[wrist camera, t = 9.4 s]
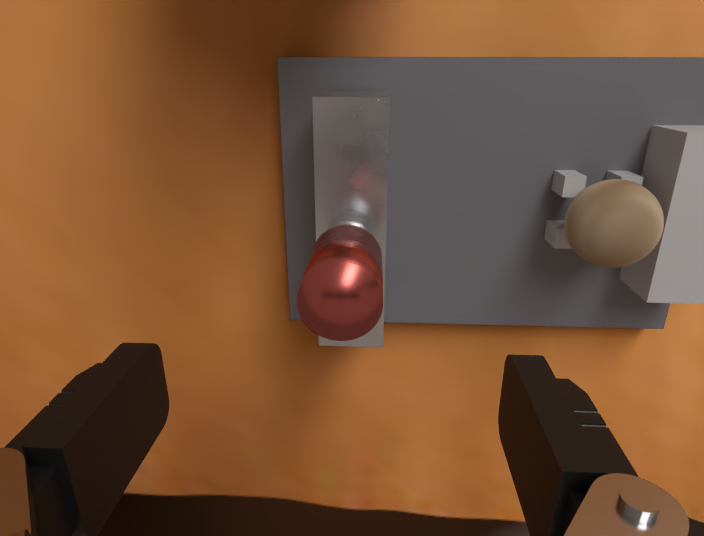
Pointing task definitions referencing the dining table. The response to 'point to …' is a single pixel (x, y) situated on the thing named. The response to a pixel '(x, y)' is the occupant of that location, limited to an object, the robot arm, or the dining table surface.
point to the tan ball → (614, 223)
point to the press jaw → (348, 219)
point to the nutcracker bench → (513, 182)
